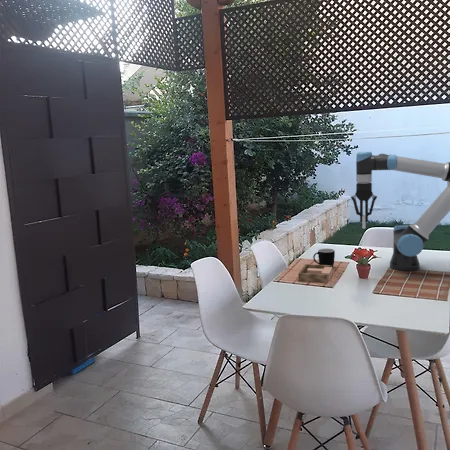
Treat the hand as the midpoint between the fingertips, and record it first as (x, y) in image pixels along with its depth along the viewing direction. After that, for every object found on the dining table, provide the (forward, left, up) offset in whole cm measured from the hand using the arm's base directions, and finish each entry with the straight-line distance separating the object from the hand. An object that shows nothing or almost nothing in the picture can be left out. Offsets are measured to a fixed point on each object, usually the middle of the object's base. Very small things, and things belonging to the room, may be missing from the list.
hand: (363, 228), depth 241 cm
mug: (+22, -8, -25) cm, 34 cm away
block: (+22, +10, -25) cm, 34 cm away
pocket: (+23, +10, -24) cm, 35 cm away
